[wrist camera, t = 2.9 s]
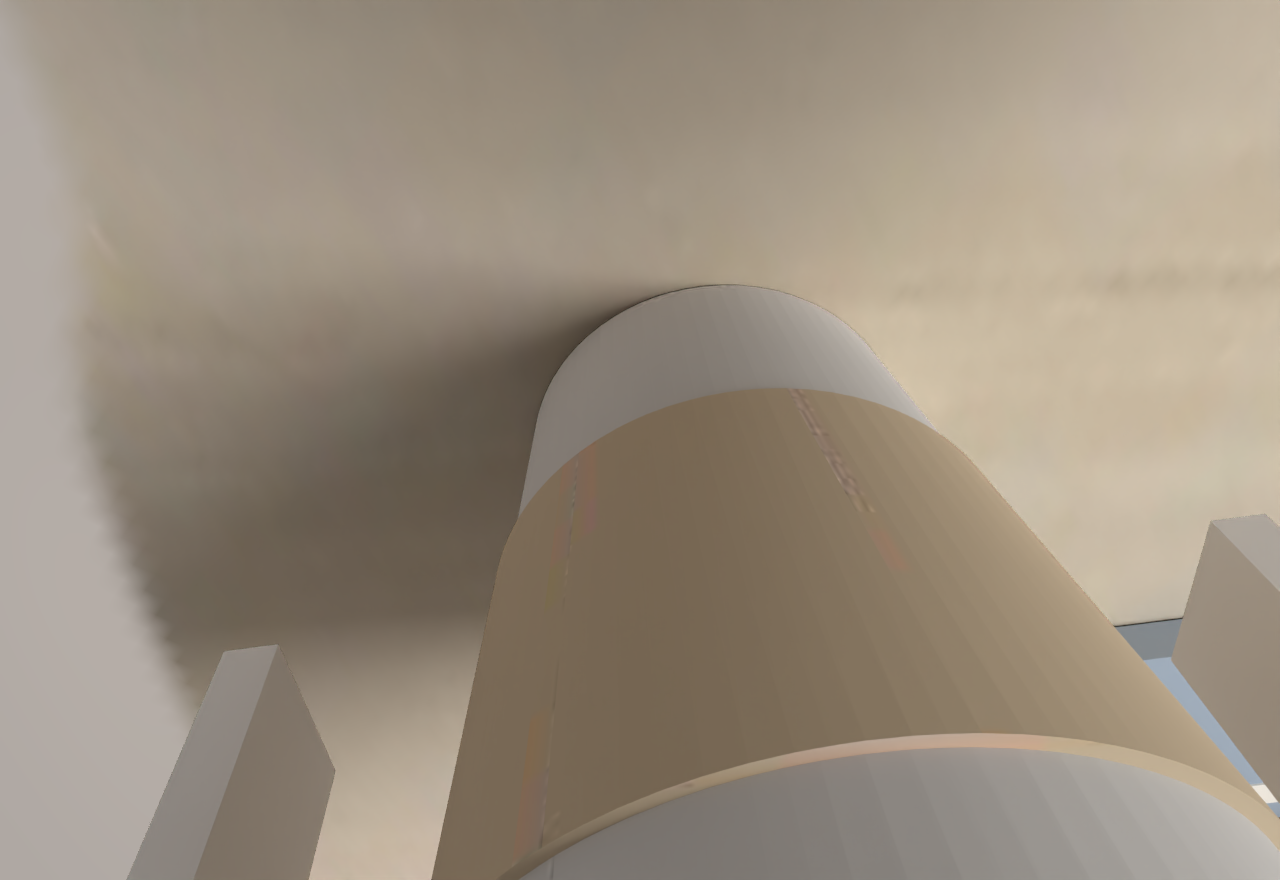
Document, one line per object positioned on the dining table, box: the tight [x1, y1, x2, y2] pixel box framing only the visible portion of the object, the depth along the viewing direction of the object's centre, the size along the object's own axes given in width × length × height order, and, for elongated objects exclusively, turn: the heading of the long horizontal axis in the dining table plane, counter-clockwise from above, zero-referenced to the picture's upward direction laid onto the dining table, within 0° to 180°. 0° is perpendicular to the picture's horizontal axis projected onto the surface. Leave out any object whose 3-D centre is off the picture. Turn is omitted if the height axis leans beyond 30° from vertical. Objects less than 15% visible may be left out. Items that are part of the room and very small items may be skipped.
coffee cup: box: [431, 285, 1280, 880], centre depth 11 cm, size 9×9×15 cm
